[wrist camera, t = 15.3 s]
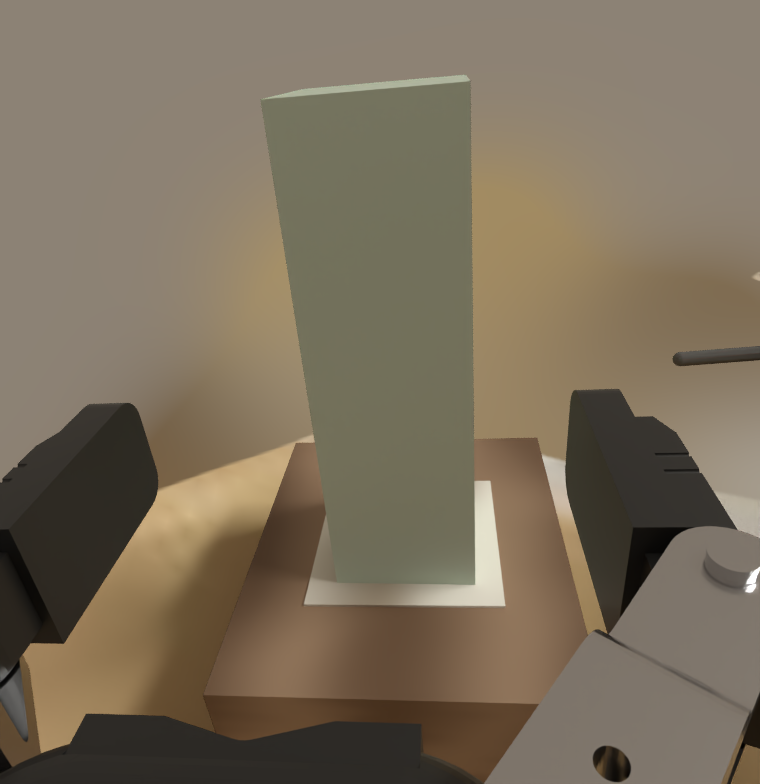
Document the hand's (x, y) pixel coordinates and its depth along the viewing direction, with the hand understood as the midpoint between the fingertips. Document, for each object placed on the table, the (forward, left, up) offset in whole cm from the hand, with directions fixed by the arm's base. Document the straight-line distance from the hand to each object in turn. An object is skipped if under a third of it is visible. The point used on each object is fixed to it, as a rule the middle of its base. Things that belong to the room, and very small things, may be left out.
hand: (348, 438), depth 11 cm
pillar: (0, -9, -10) cm, 14 cm away
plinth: (0, -9, -16) cm, 18 cm away
